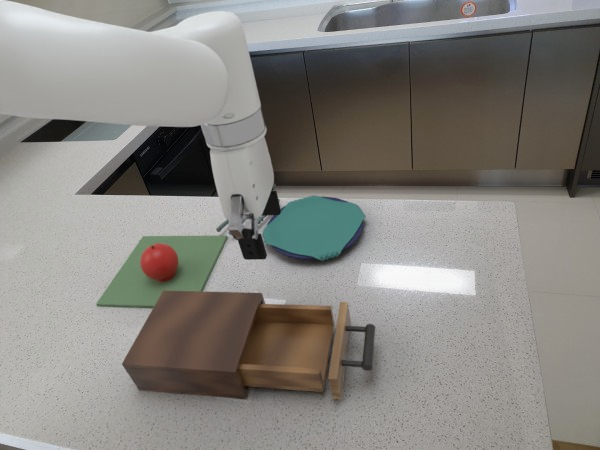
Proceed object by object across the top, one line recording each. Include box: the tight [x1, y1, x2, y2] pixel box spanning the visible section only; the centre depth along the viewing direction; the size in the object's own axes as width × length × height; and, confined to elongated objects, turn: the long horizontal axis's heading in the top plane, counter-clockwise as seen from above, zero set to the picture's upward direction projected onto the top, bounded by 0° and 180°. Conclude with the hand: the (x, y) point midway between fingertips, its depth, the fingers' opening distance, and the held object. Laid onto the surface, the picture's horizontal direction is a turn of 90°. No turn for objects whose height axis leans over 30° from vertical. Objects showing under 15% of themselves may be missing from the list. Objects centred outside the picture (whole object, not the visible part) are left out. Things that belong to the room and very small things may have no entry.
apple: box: [140, 243, 178, 282], centre depth 88 cm, size 7×7×8 cm
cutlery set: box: [215, 195, 367, 262], centre depth 95 cm, size 20×30×2 cm, turn 59°
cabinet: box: [121, 290, 266, 400], centre depth 72 cm, size 18×15×7 cm
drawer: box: [238, 301, 376, 400], centre depth 68 cm, size 21×13×5 cm, turn 79°
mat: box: [95, 235, 228, 309], centre depth 92 cm, size 20×20×1 cm
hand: (263, 234), depth 65 cm, fingers open, 9 cm apart
